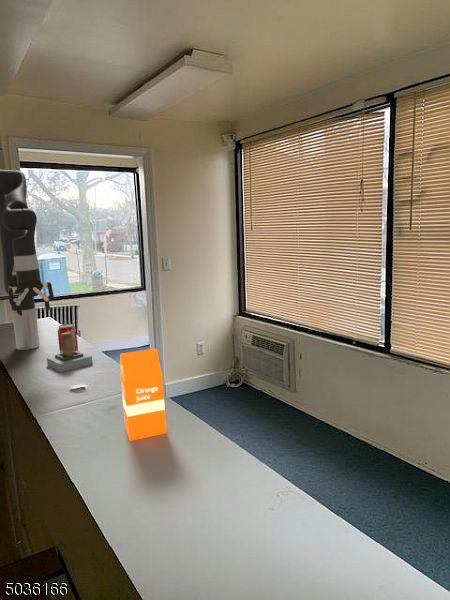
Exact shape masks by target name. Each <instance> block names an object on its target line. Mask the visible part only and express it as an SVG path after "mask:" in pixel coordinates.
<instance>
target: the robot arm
mask: <svg viewBox="0 0 450 600" xmlns="http://www.w3.org/2000/svg"><path fill="white" fill-rule="evenodd" d="M26 179H27V178H26V176H25V174H24V172H23V171H21V170H16V169H0V244H1V251H2V252H1V253H2V262H3V263H2V264H3V265H2V266H3V286H4V289H5V292H6V294H7V295H8V302H9V305H10V307H11V314H12V320H13V321H12V323H13V329H14V337H15V344H16V350H18V351H26V350H27V351H28V350H32V349H36V348H38V347H39V348H40V347H41V346H40V345H41V344H40V337H39V336H40V335H39V330H38V329H39V328H38V327H39V326H38V321H37V314H36V312H37V311H36V305H35V297H38V296H40V297H41V298H42V299H43V300H44V301H43V302H44V303H43V304H44V309H45V312H47V313H48V312H49V310H50V308H51V307H50V305H51V304H50V301H51V300H53V299H54V297H55V295H54V291H53V290H54V289H53V285H52V283H51V282H50V281H47V282H44V283H43V282H42V279H41V273H40V272H41V271H40V264H39V259H38V256H37V251H36V244H35V239H36V238H35V236H36V235H35V234H36V228H37V222H38V219H37V218H38V217H37V213H36V212H35V211H34V210H33V209H32V208H29V205H28V201H27V198H28V195H27V194H28V191H27V190H28V189H27V180H26ZM14 269H15V272H14V271H13V270H14ZM43 287H44V288H45V289H46V290H47V291H48V296H46V295H45V294H44V293H43V292H42V289H44V288H43ZM18 294H19V295H18ZM14 295H18V297H17V299H16V300H14Z"/></svg>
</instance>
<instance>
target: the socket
mask: <svg viewBox="0 0 450 600" xmlns="http://www.w3.org/2000/svg"><path fill="white" fill-rule="evenodd" d="M46 362H47V363H46V364H47V367H49V368H52V369H54V370H56V371H58V372H59V373H65V372H68V371H72V370H75V369H79V368H83V367H86V366H90V365H93V356H92V355H89V354H87V353H84V352H82V351H80V350H78V351H74V355H73V356H69V357H63V353H61V354H60V353H58V354H55V355H54V356H49V357H46Z"/></svg>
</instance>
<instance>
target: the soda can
mask: <svg viewBox="0 0 450 600" xmlns="http://www.w3.org/2000/svg"><path fill="white" fill-rule="evenodd" d="M66 332H71V333H72V336H73V346H74V351H79V345H78V335H77V329H76V327H75V324H73V323H65V324H61V325H58V329H57V338H58V348H59V352H60V353H59V354H61V353H63V351H62V342H61V334H62V333H66Z"/></svg>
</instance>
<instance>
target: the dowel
mask: <svg viewBox="0 0 450 600" xmlns="http://www.w3.org/2000/svg"><path fill="white" fill-rule="evenodd" d="M61 342H62V351H63V357H69V356H73V355H74V346H73V336H72V333H71V332H66V333H62V334H61Z"/></svg>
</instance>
